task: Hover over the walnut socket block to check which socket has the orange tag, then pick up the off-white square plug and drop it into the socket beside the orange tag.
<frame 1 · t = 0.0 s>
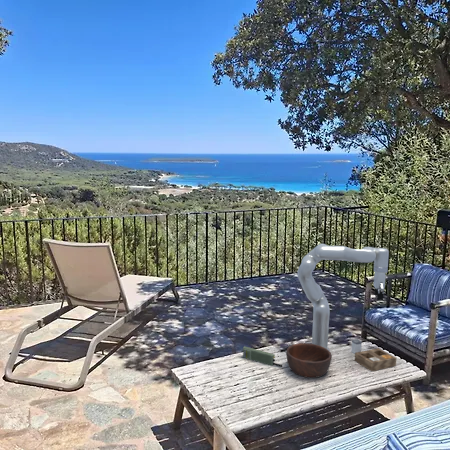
hand: (378, 297, 241), 37 cm above the table, tool pointing down, fingers open, 9 cm apart
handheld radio: (262, 362, 237), on the table
socket block: (374, 363, 238), on the table
plug: (356, 353, 251), on the table
wooden bowl: (308, 369, 229), on the table
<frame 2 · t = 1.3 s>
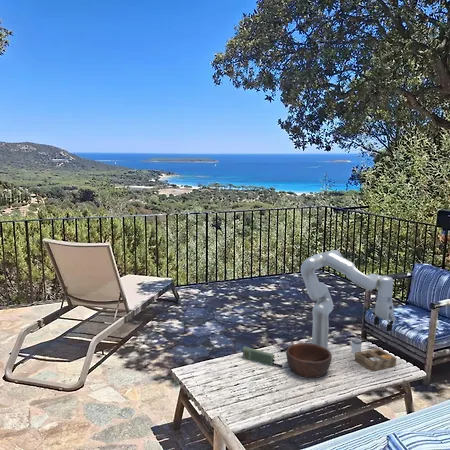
hand: (382, 327, 231), 23 cm above the table, tool pointing down, fingers open, 9 cm apart
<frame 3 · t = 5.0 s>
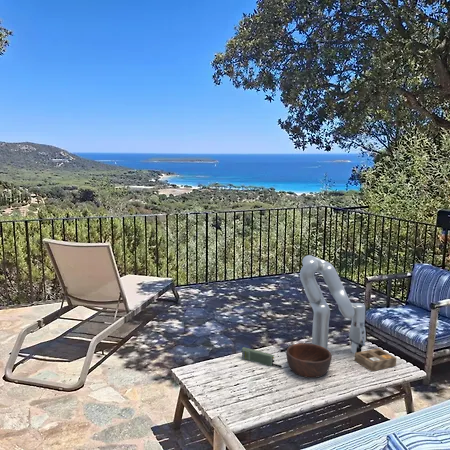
hand: (356, 351, 251), 1 cm above the table, tool pointing down, fingers closed on plug, 3 cm apart
plug: (356, 353, 251), on the table, touching gripper
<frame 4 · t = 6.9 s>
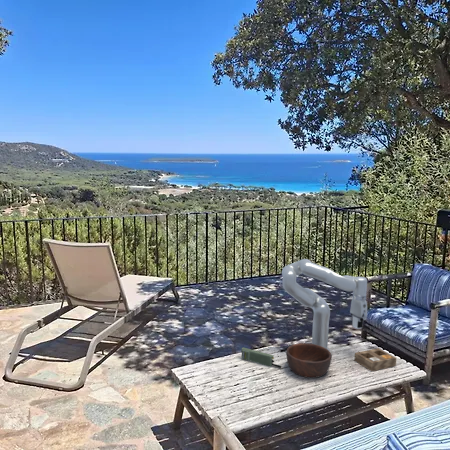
hand: (357, 325, 249), 17 cm above the table, tool pointing down, fingers closed on plug, 4 cm apart
plug: (357, 327, 249), point 17 cm above the table, touching gripper
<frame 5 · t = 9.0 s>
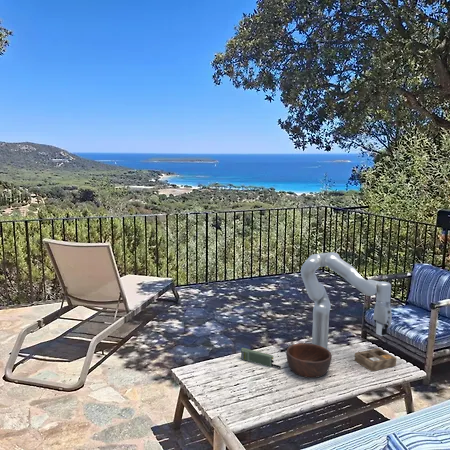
hand: (381, 333, 239), 17 cm above the table, tool pointing down, fingers closed on plug, 4 cm apart
plug: (381, 334, 239), point 17 cm above the table, touching gripper
when the fingers open (6 cm above the table, at t = 12.0 s): plug drops 4 cm, resting on socket block.
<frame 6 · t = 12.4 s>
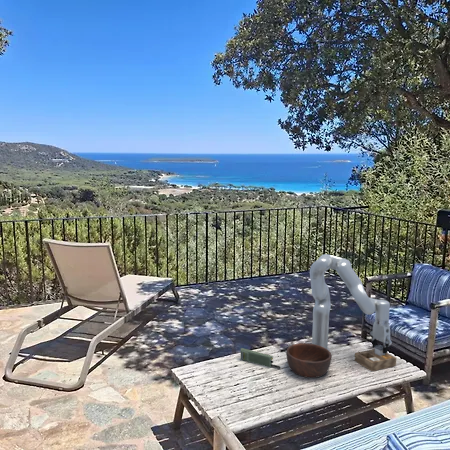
hand: (379, 349, 240), 7 cm above the table, tool pointing down, fingers open, 7 cm apart
plug: (379, 359, 241), point 1 cm above the table, touching socket block
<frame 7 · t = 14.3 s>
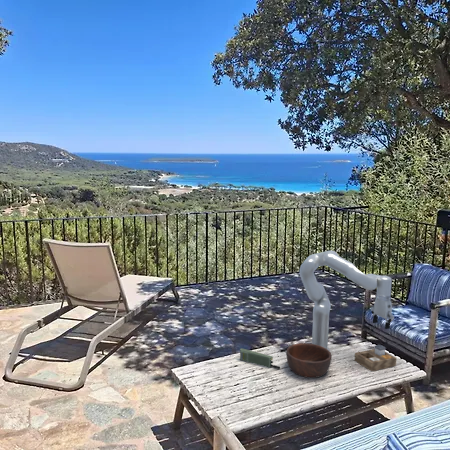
hand: (381, 325, 238), 22 cm above the table, tool pointing down, fingers open, 9 cm apart
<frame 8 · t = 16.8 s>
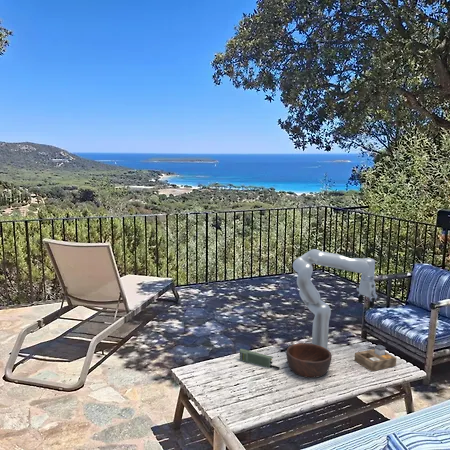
hand: (365, 304, 256), 28 cm above the table, tool pointing down, fingers open, 9 cm apart
at the end: plug 0.1 cm from the target spot on the socket block, point 1.0 cm above the socket block's base; plug tilted 0°; the gripper is holding nothing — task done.
